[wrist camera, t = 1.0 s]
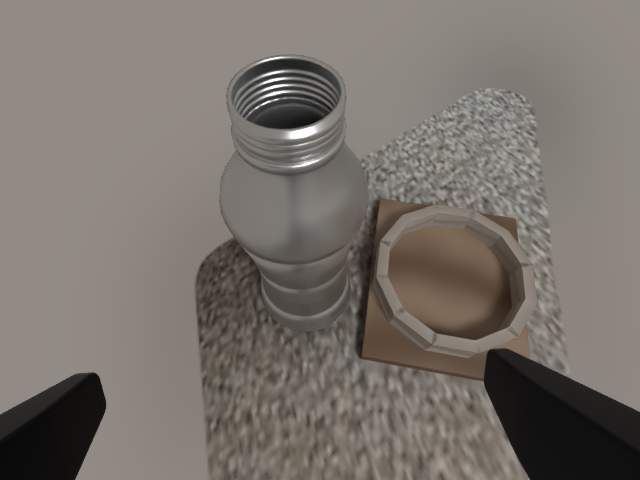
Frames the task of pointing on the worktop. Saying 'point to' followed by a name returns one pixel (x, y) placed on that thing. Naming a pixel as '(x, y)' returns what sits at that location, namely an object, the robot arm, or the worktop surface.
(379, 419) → the worktop surface
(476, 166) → the worktop surface
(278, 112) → the silver bottle
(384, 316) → the square coaster with ring
